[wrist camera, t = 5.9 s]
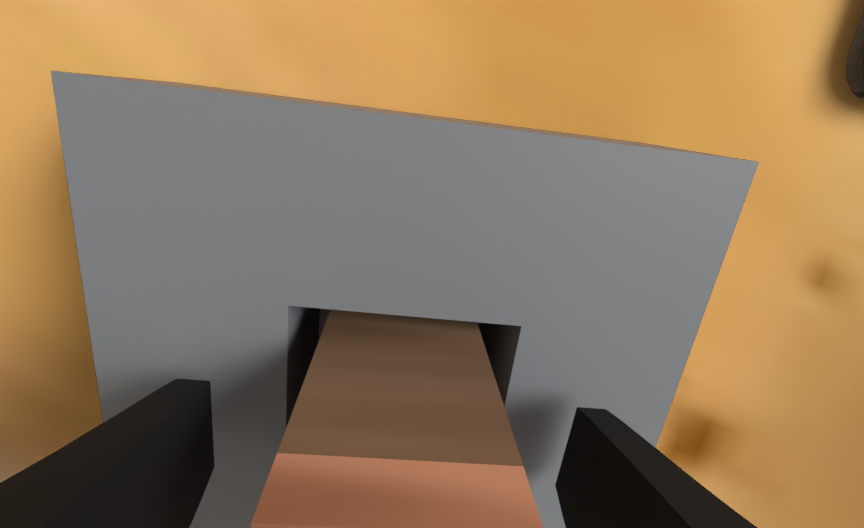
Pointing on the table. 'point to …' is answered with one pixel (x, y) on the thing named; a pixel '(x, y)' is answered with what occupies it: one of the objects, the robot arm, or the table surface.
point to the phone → (857, 62)
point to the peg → (398, 433)
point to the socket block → (381, 257)
